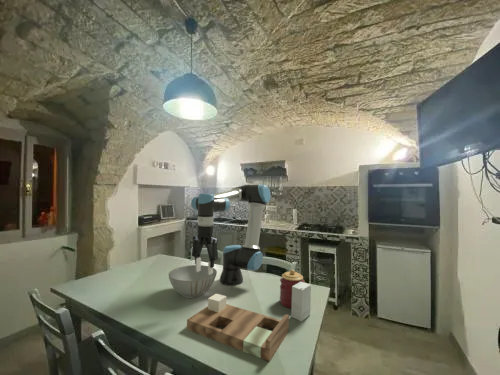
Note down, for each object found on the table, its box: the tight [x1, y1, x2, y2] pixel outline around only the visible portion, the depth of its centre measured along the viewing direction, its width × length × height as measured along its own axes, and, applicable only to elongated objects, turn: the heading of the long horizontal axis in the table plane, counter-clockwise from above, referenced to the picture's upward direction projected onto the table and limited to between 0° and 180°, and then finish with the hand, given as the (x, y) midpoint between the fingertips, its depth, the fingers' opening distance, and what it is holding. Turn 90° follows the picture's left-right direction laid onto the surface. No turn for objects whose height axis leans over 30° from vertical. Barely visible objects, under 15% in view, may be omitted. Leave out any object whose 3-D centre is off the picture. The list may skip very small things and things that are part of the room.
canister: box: [279, 269, 306, 309], centre depth 125 cm, size 13×13×18 cm
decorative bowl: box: [168, 264, 217, 299], centre depth 134 cm, size 27×27×12 cm
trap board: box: [186, 303, 290, 362], centre depth 99 cm, size 38×20×7 cm, turn 62°
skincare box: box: [290, 282, 312, 322], centre depth 111 cm, size 8×6×15 cm
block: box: [207, 293, 227, 313], centre depth 109 cm, size 6×6×5 cm
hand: (204, 272), depth 113 cm, fingers open, 7 cm apart
